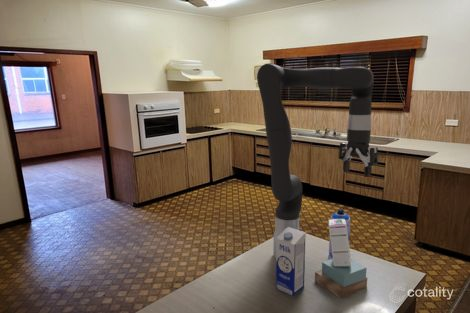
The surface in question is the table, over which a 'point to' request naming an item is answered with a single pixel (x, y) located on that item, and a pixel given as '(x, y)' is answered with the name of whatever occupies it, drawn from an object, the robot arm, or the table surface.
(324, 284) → the walnut slab
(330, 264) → the teal block
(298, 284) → the milk carton
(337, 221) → the syrup box
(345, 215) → the aerosol can
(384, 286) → the table surface
